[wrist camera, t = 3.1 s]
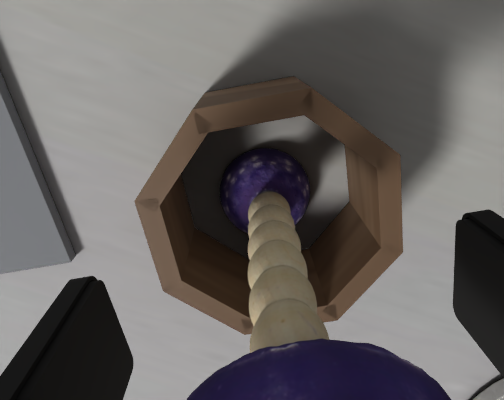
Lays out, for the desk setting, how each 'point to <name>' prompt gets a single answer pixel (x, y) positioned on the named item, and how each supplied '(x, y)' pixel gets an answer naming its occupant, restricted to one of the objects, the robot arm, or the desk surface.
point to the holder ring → (316, 257)
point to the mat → (25, 201)
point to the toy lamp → (295, 305)
